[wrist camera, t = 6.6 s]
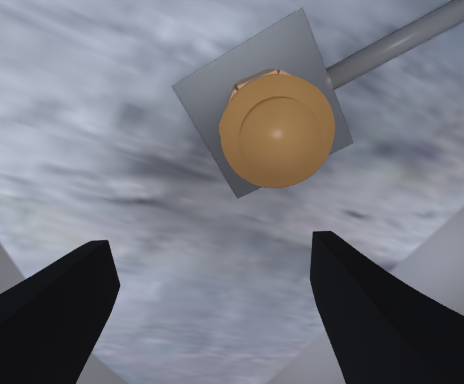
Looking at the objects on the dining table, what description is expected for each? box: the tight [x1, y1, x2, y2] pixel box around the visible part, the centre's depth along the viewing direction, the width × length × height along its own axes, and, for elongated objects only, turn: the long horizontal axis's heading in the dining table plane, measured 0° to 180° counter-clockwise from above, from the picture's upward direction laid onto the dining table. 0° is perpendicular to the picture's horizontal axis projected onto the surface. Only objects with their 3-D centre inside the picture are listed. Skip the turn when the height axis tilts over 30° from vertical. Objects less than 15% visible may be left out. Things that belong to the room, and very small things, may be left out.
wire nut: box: [218, 69, 335, 188], centre depth 14 cm, size 5×5×6 cm
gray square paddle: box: [172, 0, 464, 199], centre depth 15 cm, size 19×8×4 cm, turn 118°
